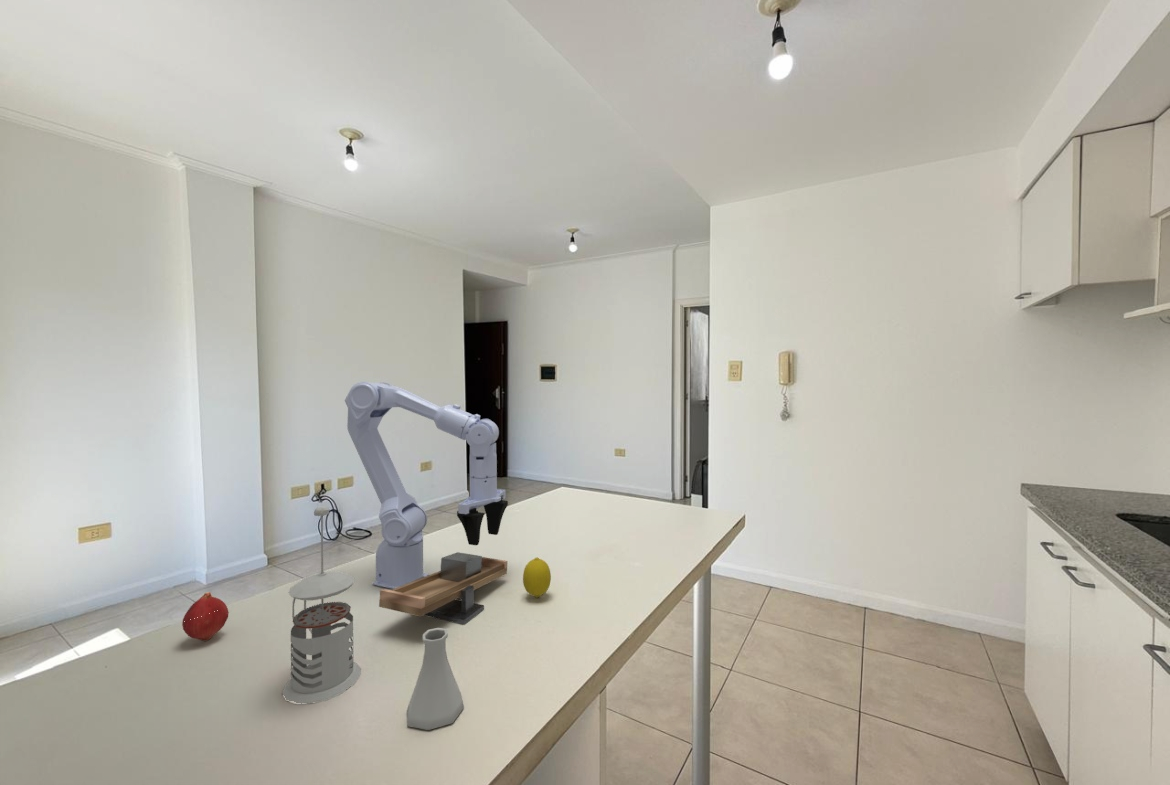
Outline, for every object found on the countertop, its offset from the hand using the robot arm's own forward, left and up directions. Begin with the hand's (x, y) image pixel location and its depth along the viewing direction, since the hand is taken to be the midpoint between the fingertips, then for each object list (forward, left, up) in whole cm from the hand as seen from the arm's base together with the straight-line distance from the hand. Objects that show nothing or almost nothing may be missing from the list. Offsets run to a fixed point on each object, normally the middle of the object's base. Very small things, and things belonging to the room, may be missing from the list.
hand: (483, 539), depth 97 cm
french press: (-3, -36, -10) cm, 37 cm away
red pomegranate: (-30, -36, -10) cm, 48 cm away
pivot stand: (0, -13, -9) cm, 16 cm away
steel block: (0, -8, -5) cm, 10 cm away
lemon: (+14, -2, -10) cm, 17 cm away
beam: (0, -11, -7) cm, 13 cm away
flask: (+17, -35, -10) cm, 40 cm away
